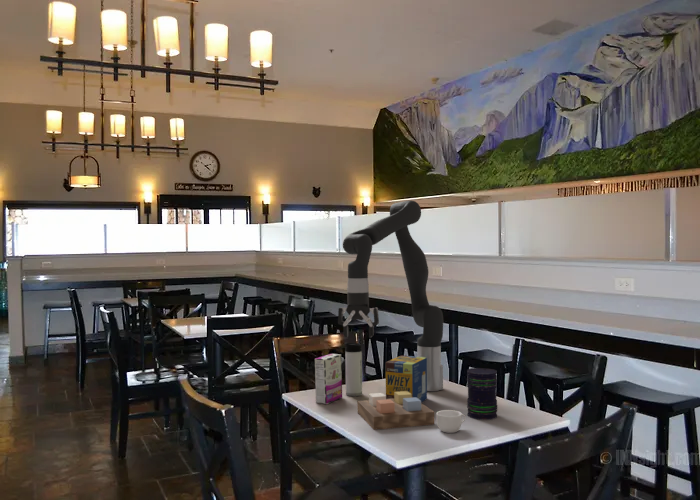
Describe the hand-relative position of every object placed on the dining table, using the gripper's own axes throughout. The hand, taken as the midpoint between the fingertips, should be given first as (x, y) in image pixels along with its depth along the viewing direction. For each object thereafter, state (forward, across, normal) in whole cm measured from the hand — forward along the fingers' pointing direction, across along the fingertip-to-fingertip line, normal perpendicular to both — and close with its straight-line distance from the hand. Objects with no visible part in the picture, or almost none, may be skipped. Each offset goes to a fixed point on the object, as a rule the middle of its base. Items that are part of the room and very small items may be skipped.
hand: (358, 337), depth 212 cm
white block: (+22, -8, +9) cm, 25 cm away
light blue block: (+22, -20, +13) cm, 32 cm away
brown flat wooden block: (+25, -14, +11) cm, 31 cm away
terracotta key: (+22, -12, +17) cm, 30 cm away
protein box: (+25, -16, -11) cm, 32 cm away
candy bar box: (+25, +13, -8) cm, 29 cm away
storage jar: (+25, -42, +3) cm, 49 cm away
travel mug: (+25, +6, -18) cm, 32 cm away
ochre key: (+22, -16, +5) cm, 28 cm away
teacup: (+25, -33, +20) cm, 46 cm away
